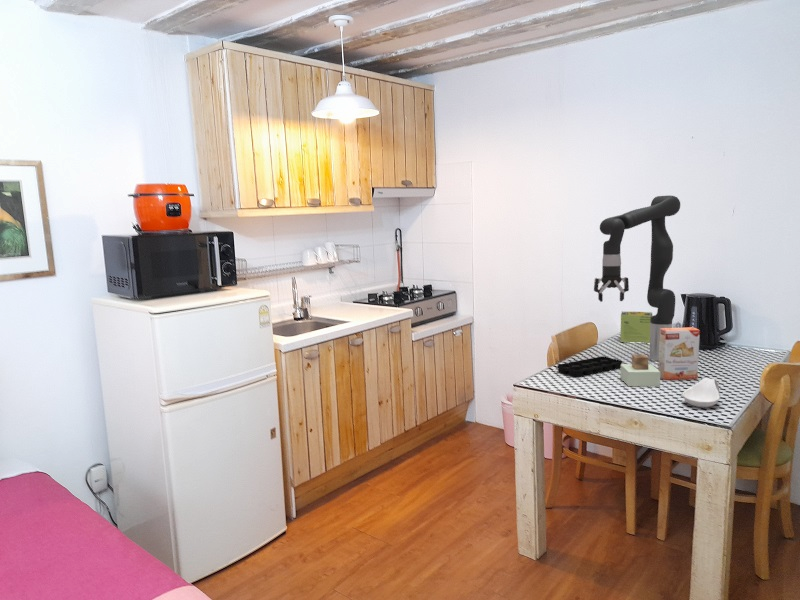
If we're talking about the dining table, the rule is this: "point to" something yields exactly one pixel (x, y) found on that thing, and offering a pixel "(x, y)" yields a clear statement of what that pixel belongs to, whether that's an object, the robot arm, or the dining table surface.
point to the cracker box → (679, 353)
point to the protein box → (635, 327)
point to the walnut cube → (640, 362)
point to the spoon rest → (703, 393)
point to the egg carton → (589, 366)
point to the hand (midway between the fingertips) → (611, 301)
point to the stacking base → (640, 376)
